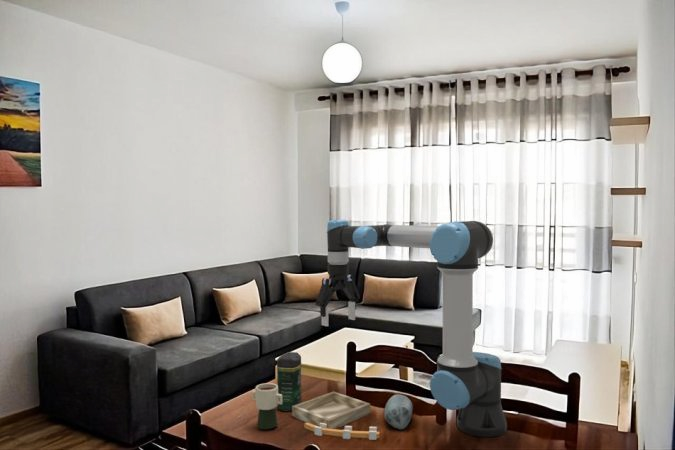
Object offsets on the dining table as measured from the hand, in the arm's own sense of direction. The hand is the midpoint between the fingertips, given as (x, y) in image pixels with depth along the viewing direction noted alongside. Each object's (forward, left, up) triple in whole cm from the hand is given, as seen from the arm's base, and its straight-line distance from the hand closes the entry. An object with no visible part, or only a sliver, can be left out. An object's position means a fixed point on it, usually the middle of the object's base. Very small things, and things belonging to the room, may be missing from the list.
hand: (338, 322), depth 192 cm
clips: (-23, +20, -28) cm, 41 cm away
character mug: (0, +33, -28) cm, 43 cm away
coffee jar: (+8, +17, -28) cm, 34 cm away
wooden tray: (-8, +12, -28) cm, 31 cm away
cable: (-20, +19, -28) cm, 39 cm away
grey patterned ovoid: (-28, +2, -28) cm, 40 cm away
